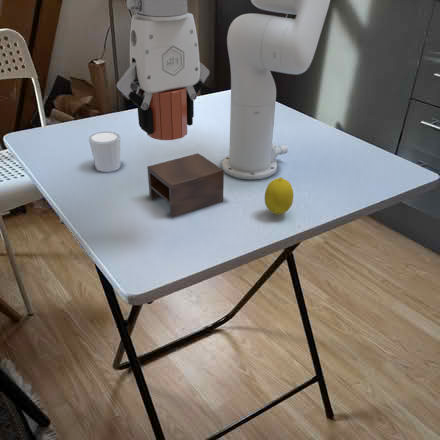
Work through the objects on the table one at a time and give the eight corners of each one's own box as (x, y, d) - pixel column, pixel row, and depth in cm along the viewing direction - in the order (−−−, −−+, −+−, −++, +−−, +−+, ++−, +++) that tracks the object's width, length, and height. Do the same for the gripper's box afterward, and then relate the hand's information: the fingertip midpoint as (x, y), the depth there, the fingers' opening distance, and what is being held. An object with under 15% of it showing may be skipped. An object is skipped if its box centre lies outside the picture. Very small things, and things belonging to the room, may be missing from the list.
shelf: (198, 183, 113) (198, 152, 109) (223, 201, 107) (223, 170, 103) (149, 197, 108) (147, 166, 103) (172, 217, 102) (171, 185, 97)
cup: (174, 122, 90) (172, 77, 85) (194, 135, 85) (194, 88, 81) (140, 130, 87) (136, 83, 82) (159, 143, 82) (156, 95, 78)
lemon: (271, 224, 100) (274, 186, 95) (258, 211, 104) (261, 174, 99) (296, 218, 102) (300, 181, 97) (282, 205, 106) (286, 169, 101)
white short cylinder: (117, 174, 116) (113, 144, 112) (88, 171, 117) (83, 141, 112) (127, 161, 121) (124, 132, 117) (99, 158, 122) (95, 129, 118)
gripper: (117, 15, 68) (129, 146, 79) (226, 3, 76) (223, 124, 87) (94, 5, 73) (108, 130, 84) (198, -5, 81) (199, 110, 92)
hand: (167, 126), depth 85 cm, fingers closed on cup, 6 cm apart
